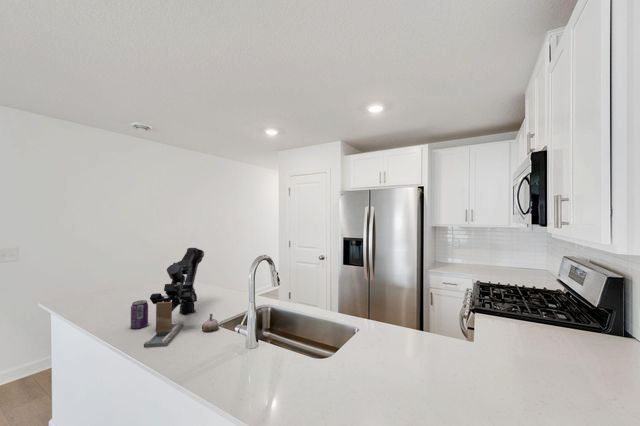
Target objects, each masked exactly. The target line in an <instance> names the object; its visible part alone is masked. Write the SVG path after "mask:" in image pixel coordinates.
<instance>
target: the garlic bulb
mask: <svg viewBox="0 0 640 426" xmlns="http://www.w3.org/2000/svg"><path fill="white" fill-rule="evenodd" d="M219 327H220V324H219V322H218V320H217V319H215V318H213V313H211V312H210V314H209V319H208V320H206V321H204V322H203V323H202V325H201V329H202V331H204V332H210V331H215V330H217V329H219Z"/></svg>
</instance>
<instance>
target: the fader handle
mask: <svg viewBox="0 0 640 426" xmlns="http://www.w3.org/2000/svg"><path fill="white" fill-rule="evenodd" d="M172 319H173V311H172V301H171V302H158V303H156V304H155V333H157V337H159V336H167V335H168V333H169V332H171V331H172V324H173V323H172V322H173V320H172Z"/></svg>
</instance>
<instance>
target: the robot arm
mask: <svg viewBox="0 0 640 426" xmlns="http://www.w3.org/2000/svg"><path fill="white" fill-rule="evenodd" d="M204 257H205V252H204V251H203V250H202V249H199V248H198V247H188V248H187V249H186V252H185V254H184V255H183V257H182V258H181V260H179V261H178V262H173V263H172V264H170V265H169V266H168V267H167V268H166V272H167V274H168V276H169V278H170V280H171V283H164V288H163V292H165V295H162V293H160V292H159V293H158V292H157V293H156V292H155V293H152V294H151V295H150V297H149V300H150V302H151V303H152V304H153V305H156V303H158V302H172V312H174V310H175V309H176V308H177V307H178V306H179V314H180V315H184V316H187V315H190V314H193V313H196V310H195V302H198V296H197V293H196V290H195V287H194V284H195V280H196V279H195V278H196V275H197V271H198V266H199V264H200V263H201V262H202V261H203V258H204ZM185 275H186V276H185Z"/></svg>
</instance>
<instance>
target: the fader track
mask: <svg viewBox="0 0 640 426" xmlns="http://www.w3.org/2000/svg"><path fill="white" fill-rule="evenodd" d="M184 326H185V324H184V323H182V321H178V323H172V331H171V332H169V333H168V335H167V336H159V337H157V333H156V332H154V334H152V335H151V337H149V338H148V339H147V340H146V341H145V342H144V343H143V348H156V347H157V348H159V347H168V346H169V344H170V343H172V341H173V340H174V339H175V337H176V336H177V335H178V334H179V332H181V330H182V329H183V328H184Z"/></svg>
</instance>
